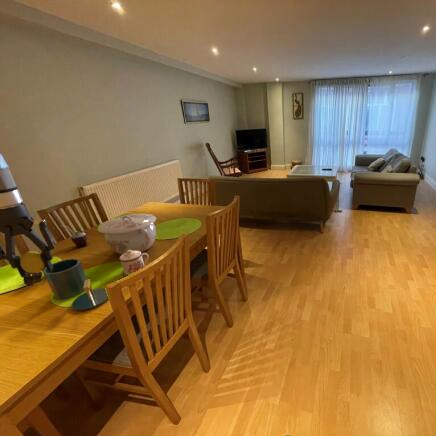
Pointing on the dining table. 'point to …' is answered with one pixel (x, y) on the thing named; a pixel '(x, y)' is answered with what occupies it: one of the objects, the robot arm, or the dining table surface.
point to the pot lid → (90, 297)
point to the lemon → (32, 262)
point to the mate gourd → (78, 238)
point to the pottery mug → (33, 277)
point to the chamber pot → (129, 232)
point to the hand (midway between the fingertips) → (37, 271)
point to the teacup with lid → (132, 261)
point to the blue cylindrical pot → (66, 278)
